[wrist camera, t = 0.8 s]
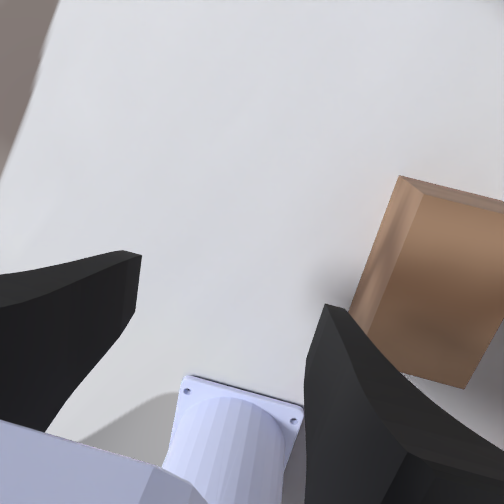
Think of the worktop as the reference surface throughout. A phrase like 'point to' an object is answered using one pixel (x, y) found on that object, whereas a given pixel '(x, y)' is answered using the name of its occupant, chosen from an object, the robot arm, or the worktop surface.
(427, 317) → the walnut block
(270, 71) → the worktop surface
